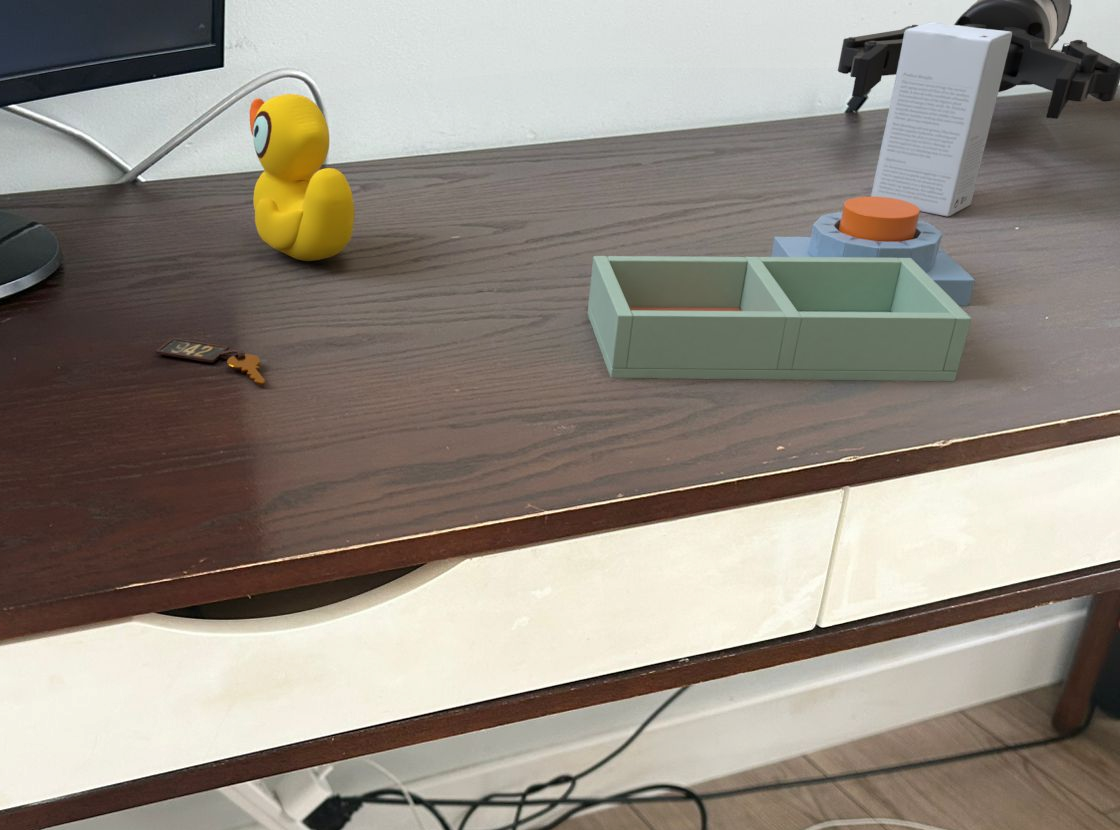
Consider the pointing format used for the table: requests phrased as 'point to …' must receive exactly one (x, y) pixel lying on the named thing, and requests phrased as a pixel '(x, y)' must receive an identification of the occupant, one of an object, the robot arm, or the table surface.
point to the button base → (882, 252)
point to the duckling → (298, 181)
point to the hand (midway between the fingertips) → (955, 88)
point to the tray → (774, 318)
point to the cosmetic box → (940, 115)
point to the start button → (879, 219)
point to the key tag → (213, 355)
